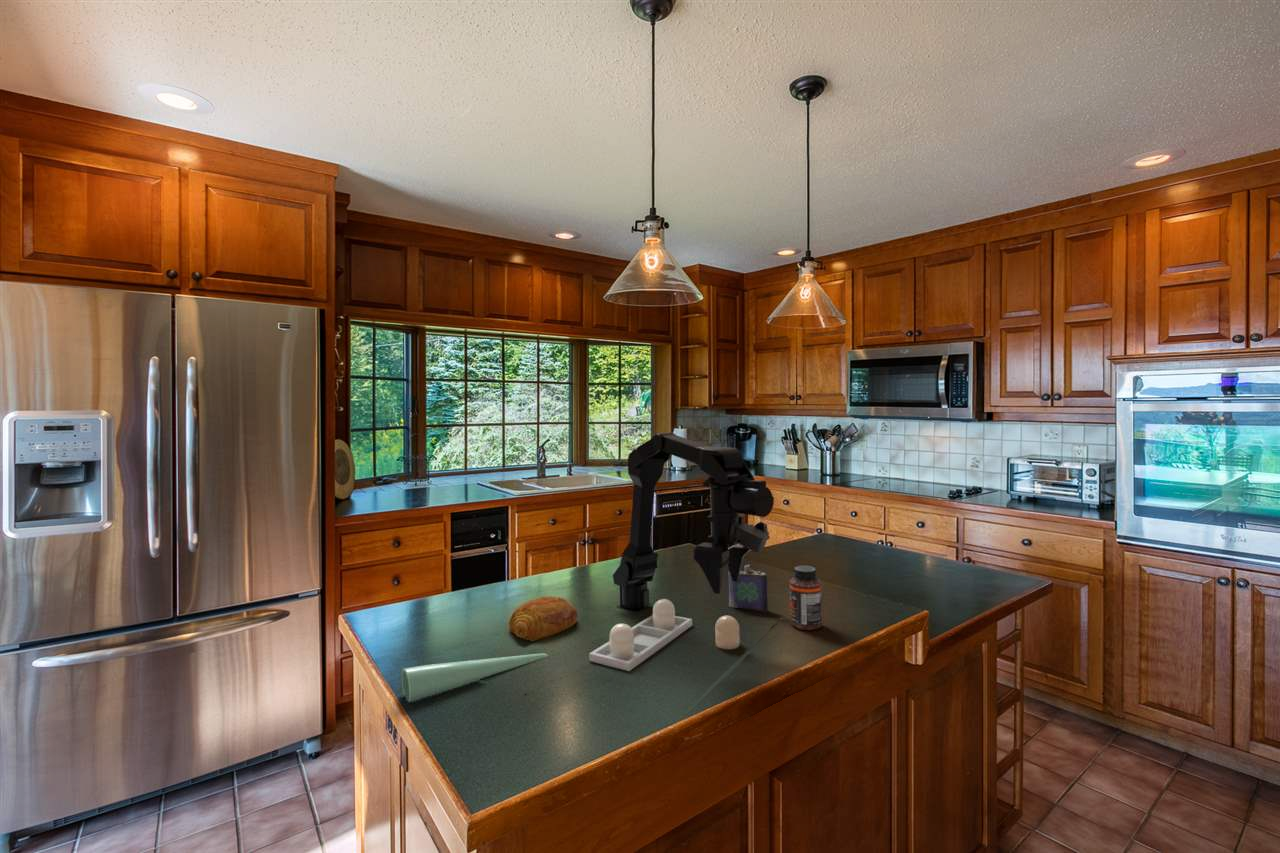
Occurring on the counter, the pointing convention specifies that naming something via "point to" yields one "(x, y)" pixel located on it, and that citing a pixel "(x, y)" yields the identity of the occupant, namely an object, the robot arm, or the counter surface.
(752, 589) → the flask
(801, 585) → the supplement bottle
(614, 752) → the counter surface
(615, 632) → the cream egg
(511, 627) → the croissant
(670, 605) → the cream egg
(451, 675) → the long green cone
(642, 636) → the egg carton
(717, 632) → the tan egg
